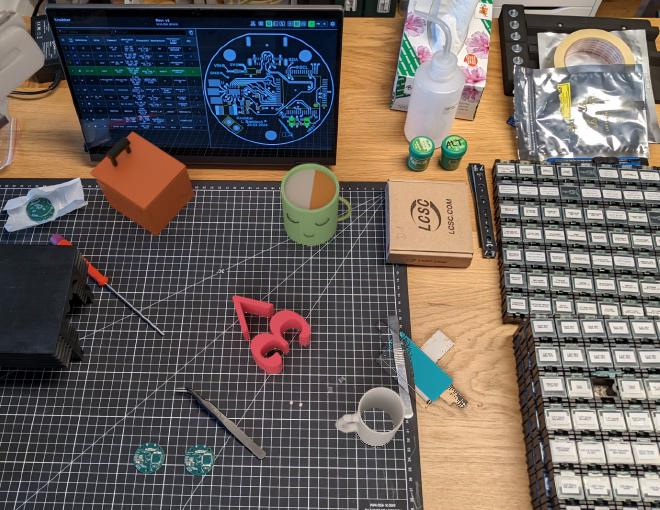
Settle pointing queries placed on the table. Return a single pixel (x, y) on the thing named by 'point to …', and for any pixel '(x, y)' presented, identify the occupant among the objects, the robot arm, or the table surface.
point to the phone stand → (430, 368)
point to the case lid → (138, 170)
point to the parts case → (154, 204)
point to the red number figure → (277, 326)
